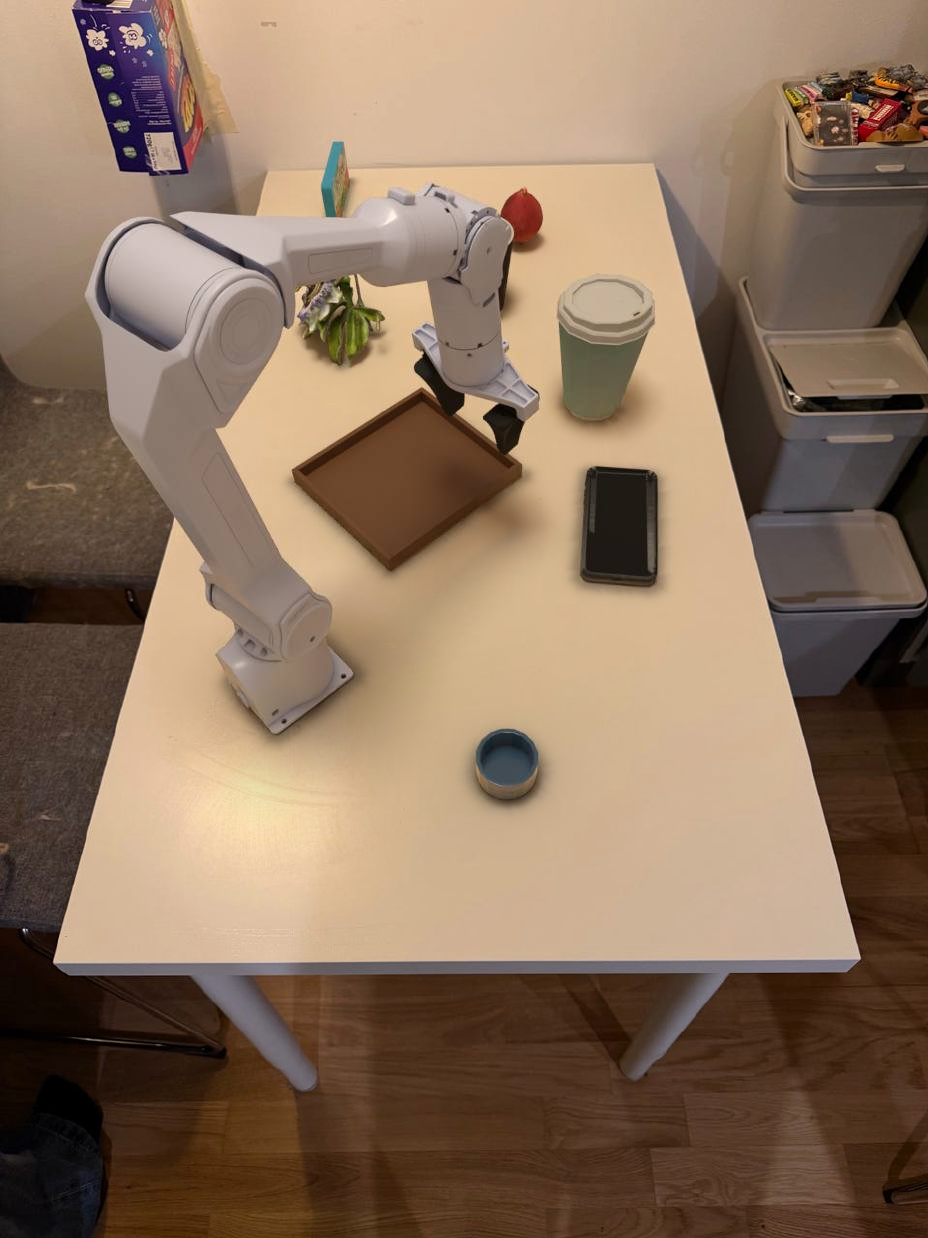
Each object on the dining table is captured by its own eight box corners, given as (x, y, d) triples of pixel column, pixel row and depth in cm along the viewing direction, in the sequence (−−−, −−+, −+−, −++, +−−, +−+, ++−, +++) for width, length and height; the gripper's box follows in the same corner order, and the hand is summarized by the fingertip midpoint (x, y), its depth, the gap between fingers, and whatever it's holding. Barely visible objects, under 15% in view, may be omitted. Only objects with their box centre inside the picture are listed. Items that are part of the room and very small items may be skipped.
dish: (505, 812, 74) (505, 799, 71) (464, 769, 76) (463, 755, 73) (549, 772, 75) (551, 758, 73) (507, 732, 78) (508, 717, 75)
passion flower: (321, 364, 114) (291, 271, 109) (398, 343, 112) (371, 248, 108) (306, 375, 103) (272, 273, 99) (390, 351, 102) (360, 247, 97)
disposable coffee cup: (530, 399, 101) (535, 291, 88) (595, 359, 104) (609, 250, 92) (591, 448, 96) (605, 341, 84) (657, 405, 100) (680, 296, 87)
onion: (495, 251, 117) (495, 195, 110) (506, 227, 120) (507, 172, 113) (535, 257, 116) (538, 202, 109) (545, 233, 119) (549, 177, 112)
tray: (390, 571, 88) (388, 559, 86) (294, 481, 95) (291, 469, 93) (522, 476, 94) (522, 464, 93) (423, 399, 102) (421, 386, 100)
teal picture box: (339, 181, 128) (333, 139, 122) (349, 181, 128) (343, 139, 122) (327, 227, 121) (320, 186, 116) (338, 228, 121) (331, 186, 116)
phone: (657, 470, 93) (657, 580, 85) (656, 477, 94) (655, 587, 86) (586, 465, 93) (579, 574, 85) (585, 472, 94) (578, 580, 86)
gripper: (561, 337, 71) (561, 440, 83) (442, 264, 77) (458, 371, 89) (504, 387, 69) (513, 485, 81) (386, 308, 75) (411, 411, 87)
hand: (481, 428), depth 85 cm, fingers open, 7 cm apart
